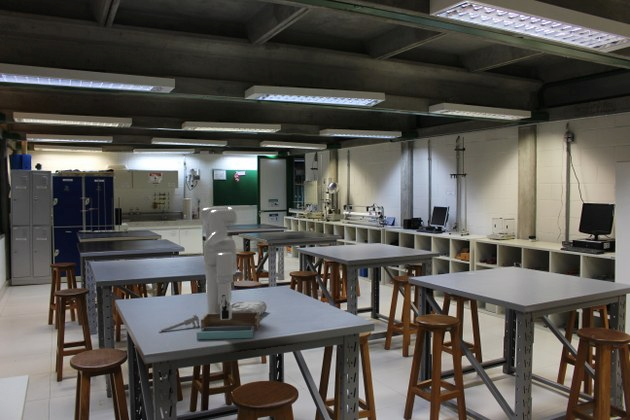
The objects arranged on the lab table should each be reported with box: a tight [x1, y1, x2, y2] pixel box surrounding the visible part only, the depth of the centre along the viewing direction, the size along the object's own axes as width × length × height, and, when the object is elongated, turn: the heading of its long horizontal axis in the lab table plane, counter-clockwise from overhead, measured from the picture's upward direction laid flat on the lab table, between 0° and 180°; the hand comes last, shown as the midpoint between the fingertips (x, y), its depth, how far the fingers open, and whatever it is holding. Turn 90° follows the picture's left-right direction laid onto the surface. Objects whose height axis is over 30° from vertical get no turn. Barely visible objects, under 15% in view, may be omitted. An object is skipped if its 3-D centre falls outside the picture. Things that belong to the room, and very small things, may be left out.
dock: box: [200, 312, 261, 331], centre depth 248 cm, size 12×27×6 cm, turn 91°
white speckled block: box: [220, 305, 232, 320], centre depth 235 cm, size 5×5×6 cm
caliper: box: [158, 313, 200, 333], centre depth 249 cm, size 20×1×6 cm, turn 124°
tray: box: [196, 325, 255, 340], centre depth 235 cm, size 12×26×3 cm, turn 91°
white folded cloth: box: [230, 300, 268, 316], centre depth 274 cm, size 19×28×8 cm
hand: (226, 317), depth 235 cm, fingers closed on white speckled block, 4 cm apart
